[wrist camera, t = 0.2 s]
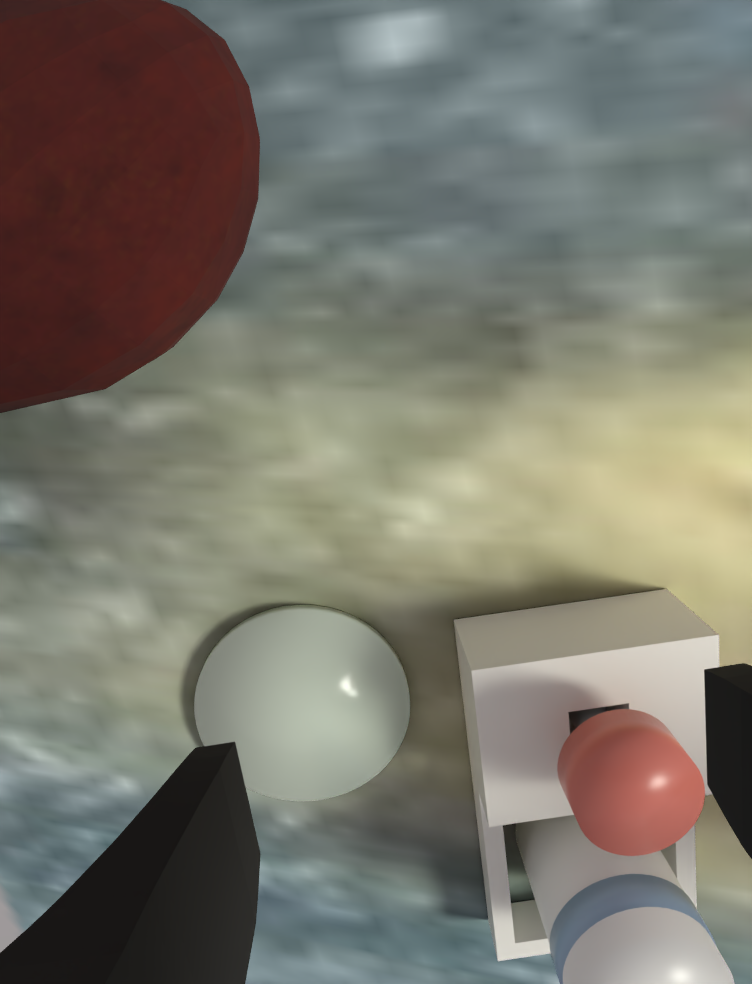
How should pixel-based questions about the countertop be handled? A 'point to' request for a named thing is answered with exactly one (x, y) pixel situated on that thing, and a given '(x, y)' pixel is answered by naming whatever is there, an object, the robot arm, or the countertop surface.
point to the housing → (546, 724)
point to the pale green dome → (304, 701)
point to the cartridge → (614, 912)
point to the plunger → (629, 781)
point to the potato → (114, 188)
